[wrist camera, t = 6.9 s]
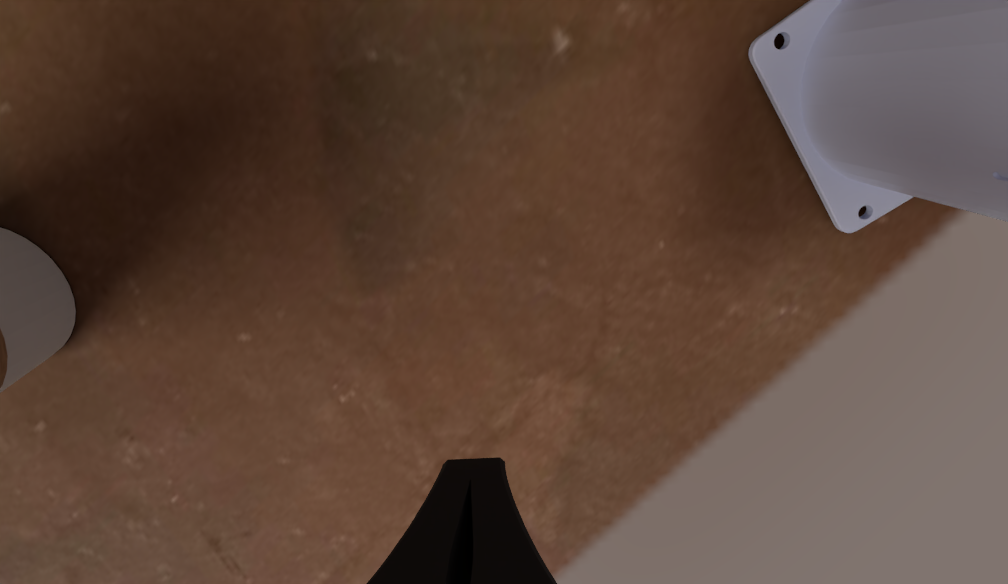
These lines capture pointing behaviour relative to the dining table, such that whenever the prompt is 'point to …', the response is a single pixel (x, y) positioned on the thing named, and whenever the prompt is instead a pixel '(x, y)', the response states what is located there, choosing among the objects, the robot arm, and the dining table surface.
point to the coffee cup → (30, 307)
